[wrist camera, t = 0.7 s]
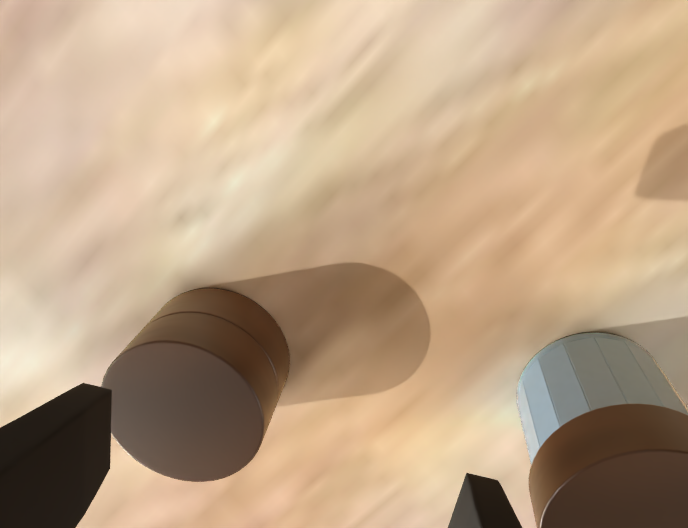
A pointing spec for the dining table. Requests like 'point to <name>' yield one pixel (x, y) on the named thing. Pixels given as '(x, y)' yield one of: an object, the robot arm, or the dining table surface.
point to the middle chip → (191, 397)
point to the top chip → (614, 470)
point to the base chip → (237, 322)
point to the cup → (587, 383)
